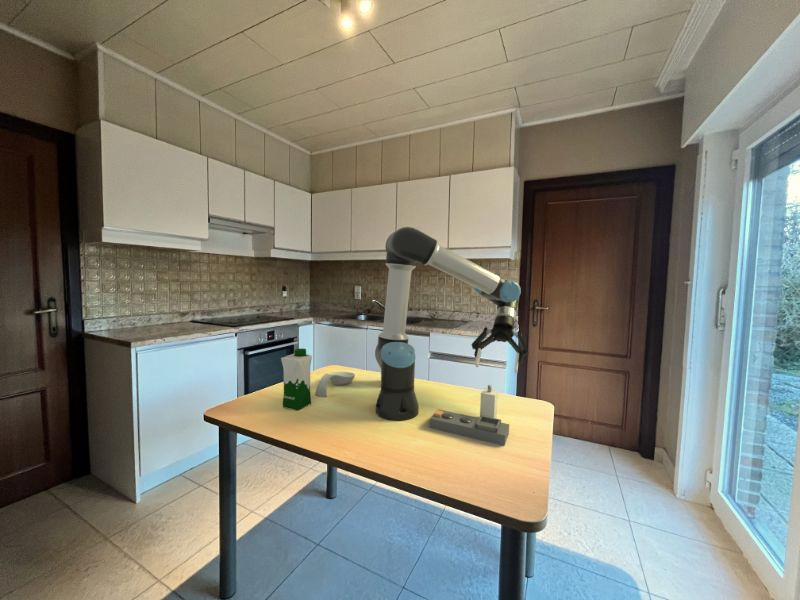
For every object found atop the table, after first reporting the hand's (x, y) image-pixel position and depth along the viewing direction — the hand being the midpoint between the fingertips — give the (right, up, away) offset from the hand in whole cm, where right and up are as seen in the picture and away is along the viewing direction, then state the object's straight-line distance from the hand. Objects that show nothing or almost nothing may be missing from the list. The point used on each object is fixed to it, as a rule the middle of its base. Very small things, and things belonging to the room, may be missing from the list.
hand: (495, 367), depth 118 cm
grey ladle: (-61, -13, +22) cm, 67 cm away
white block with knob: (-5, -16, -7) cm, 18 cm away
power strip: (-13, -17, -14) cm, 25 cm away
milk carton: (-71, -14, +2) cm, 73 cm away
